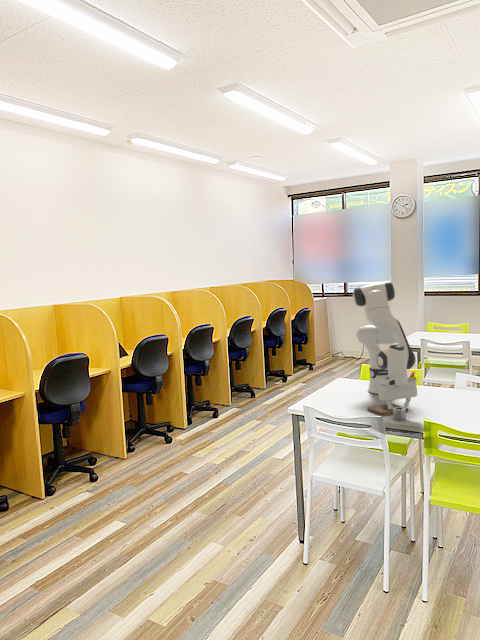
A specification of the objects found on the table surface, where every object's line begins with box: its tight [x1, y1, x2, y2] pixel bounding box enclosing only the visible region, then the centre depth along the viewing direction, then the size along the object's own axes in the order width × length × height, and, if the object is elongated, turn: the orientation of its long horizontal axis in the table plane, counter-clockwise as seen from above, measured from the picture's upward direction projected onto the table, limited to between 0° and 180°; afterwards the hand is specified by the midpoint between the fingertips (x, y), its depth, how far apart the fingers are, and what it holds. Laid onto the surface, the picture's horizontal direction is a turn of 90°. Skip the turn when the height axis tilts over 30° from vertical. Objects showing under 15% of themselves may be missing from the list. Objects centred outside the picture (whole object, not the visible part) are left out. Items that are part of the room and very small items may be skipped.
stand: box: [366, 401, 409, 417], centre depth 247 cm, size 16×12×8 cm
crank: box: [407, 370, 416, 378], centre depth 303 cm, size 20×8×8 cm, turn 143°
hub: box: [392, 406, 407, 421], centre depth 233 cm, size 6×6×5 cm
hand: (398, 407), depth 232 cm, fingers open, 8 cm apart
